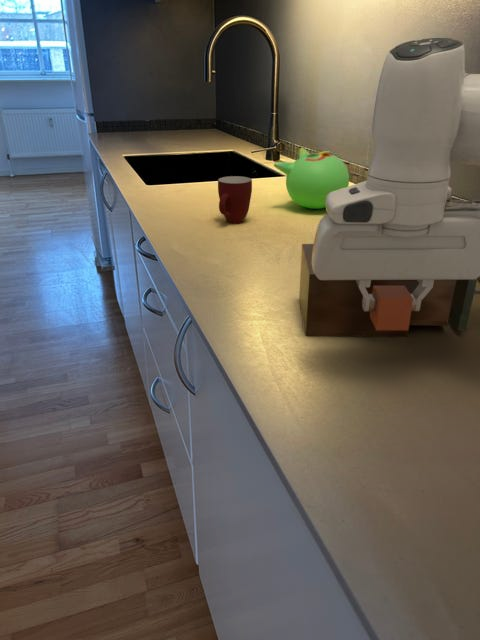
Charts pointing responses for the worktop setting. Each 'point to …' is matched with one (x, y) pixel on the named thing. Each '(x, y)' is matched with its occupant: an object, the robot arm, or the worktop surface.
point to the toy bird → (314, 177)
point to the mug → (234, 197)
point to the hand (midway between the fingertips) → (389, 309)
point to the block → (392, 308)
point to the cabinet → (339, 304)
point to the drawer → (446, 303)
